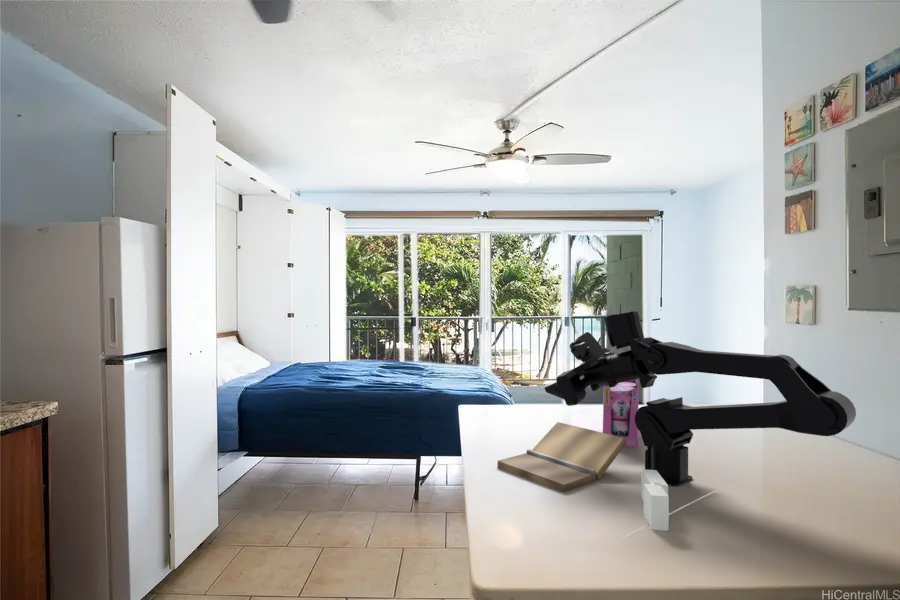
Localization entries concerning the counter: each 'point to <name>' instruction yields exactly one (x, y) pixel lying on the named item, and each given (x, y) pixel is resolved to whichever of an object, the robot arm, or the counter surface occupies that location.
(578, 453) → the oak plank
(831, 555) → the counter surface
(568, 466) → the walnut board
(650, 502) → the napkin holder
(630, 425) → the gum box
